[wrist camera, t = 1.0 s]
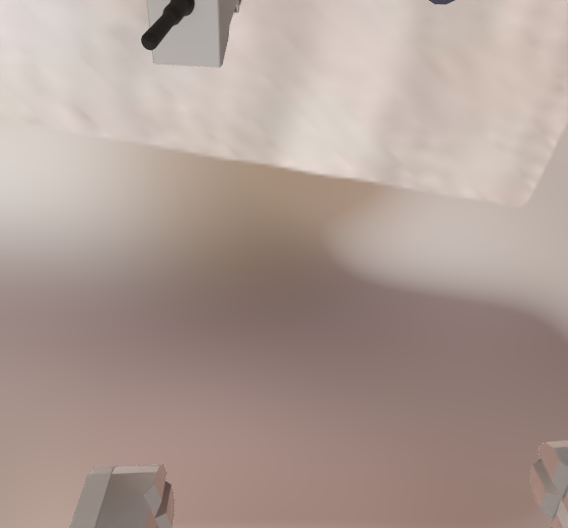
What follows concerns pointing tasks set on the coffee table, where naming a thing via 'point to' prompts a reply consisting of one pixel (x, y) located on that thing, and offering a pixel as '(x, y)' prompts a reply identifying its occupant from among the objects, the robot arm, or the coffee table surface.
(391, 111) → the coffee table surface
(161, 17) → the vintage mobile phone
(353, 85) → the coffee table surface
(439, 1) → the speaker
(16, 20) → the coffee table surface
